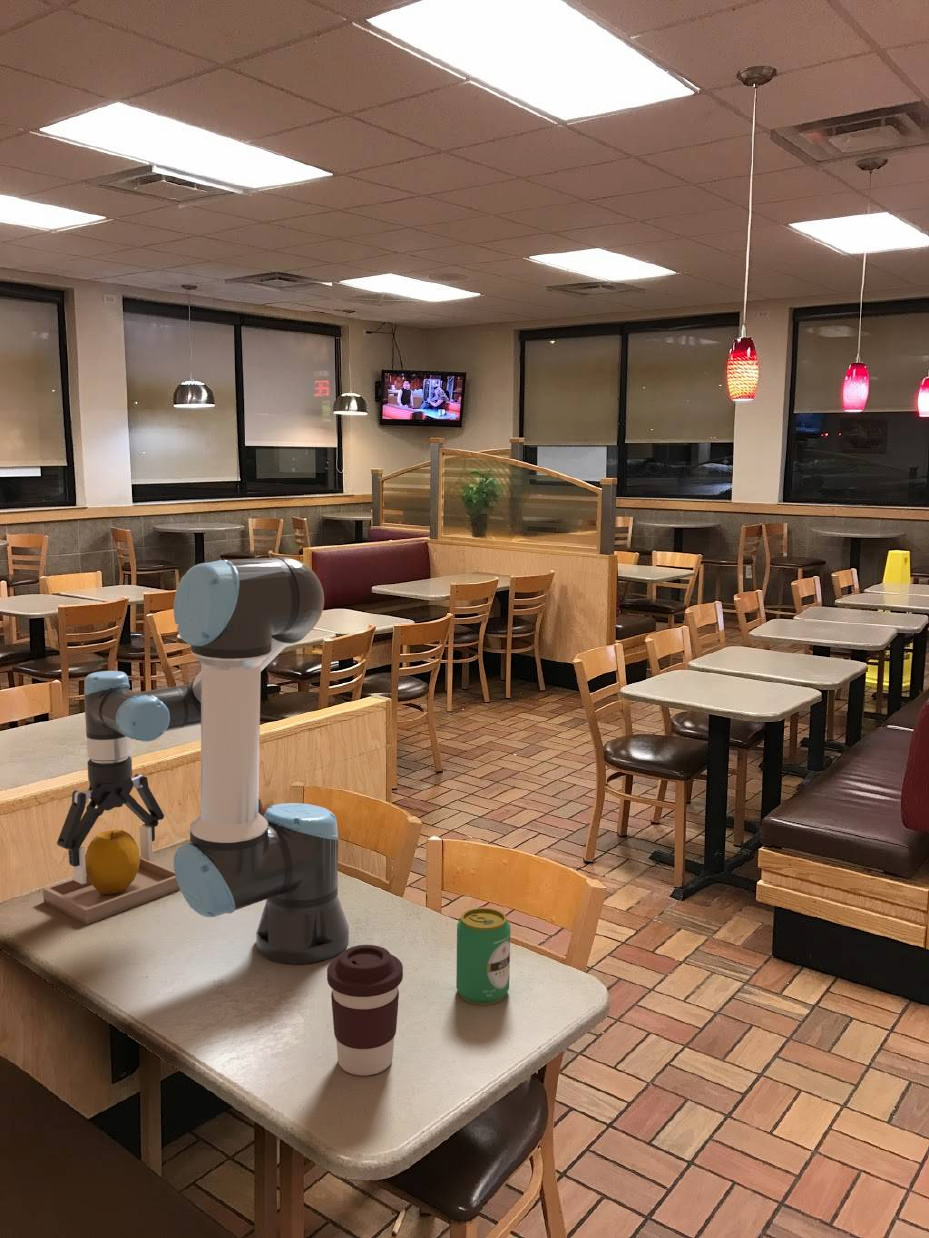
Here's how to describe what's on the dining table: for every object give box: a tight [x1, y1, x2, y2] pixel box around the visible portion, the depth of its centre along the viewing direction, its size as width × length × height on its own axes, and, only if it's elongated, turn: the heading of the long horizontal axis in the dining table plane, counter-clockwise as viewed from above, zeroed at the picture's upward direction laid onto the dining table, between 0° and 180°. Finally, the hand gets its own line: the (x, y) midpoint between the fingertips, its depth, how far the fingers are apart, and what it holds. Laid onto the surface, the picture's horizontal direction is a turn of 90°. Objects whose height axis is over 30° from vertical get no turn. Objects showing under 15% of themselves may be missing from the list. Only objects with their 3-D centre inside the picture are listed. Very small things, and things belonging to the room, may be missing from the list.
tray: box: [42, 855, 181, 925], centre depth 186 cm, size 20×14×3 cm
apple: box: [85, 829, 141, 894], centre depth 185 cm, size 10×10×12 cm
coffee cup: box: [326, 944, 404, 1077], centre depth 134 cm, size 10×10×15 cm
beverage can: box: [455, 907, 511, 1006], centre depth 152 cm, size 8×8×12 cm
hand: (114, 870), depth 185 cm, fingers open, 13 cm apart
